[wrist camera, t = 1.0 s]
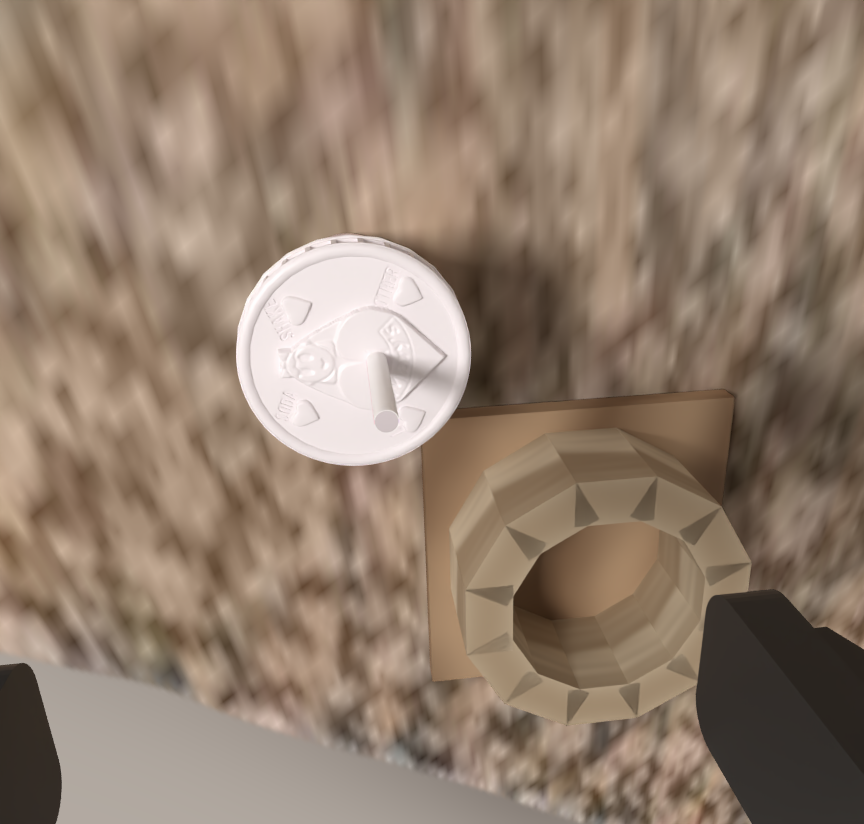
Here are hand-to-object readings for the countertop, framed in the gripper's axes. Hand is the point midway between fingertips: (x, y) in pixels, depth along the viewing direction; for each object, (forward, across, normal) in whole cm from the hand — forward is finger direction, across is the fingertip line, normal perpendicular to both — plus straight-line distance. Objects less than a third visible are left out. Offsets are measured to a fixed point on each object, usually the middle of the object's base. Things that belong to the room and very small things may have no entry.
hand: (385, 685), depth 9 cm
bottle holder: (+22, -9, +12) cm, 27 cm away
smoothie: (+22, 0, 0) cm, 22 cm away
